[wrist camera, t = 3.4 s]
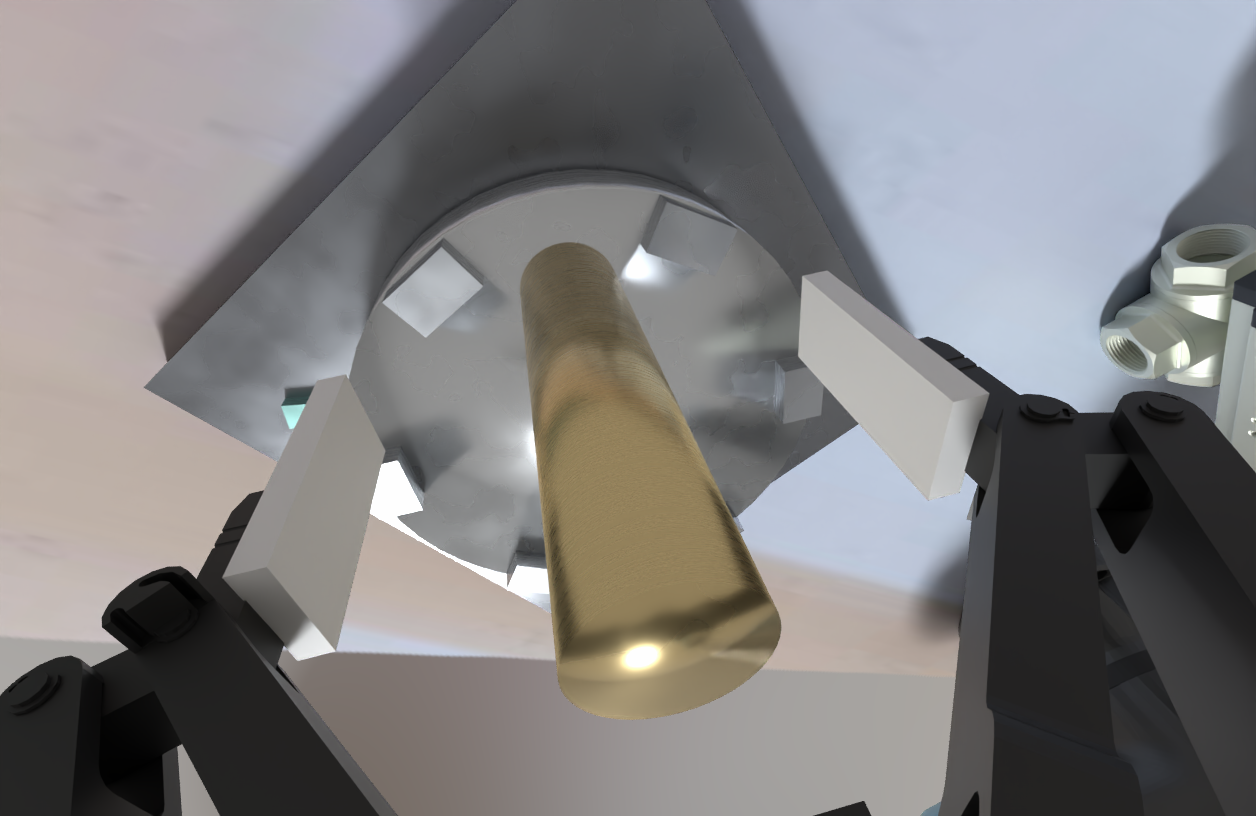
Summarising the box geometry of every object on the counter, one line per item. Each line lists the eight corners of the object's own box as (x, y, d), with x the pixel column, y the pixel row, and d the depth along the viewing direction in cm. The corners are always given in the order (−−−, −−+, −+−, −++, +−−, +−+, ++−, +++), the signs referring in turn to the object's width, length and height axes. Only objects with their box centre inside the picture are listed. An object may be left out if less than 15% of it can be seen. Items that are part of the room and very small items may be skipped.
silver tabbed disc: (849, 389, 30) (1168, 724, 16) (570, 583, 35) (624, 978, 20) (623, 41, 19) (1005, 110, 5) (257, 391, 24) (-99, 958, 9)
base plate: (892, 369, 33) (919, 392, 31) (562, 596, 39) (566, 629, 37) (625, -113, 19) (642, -130, 17) (166, 363, 24) (136, 395, 22)
